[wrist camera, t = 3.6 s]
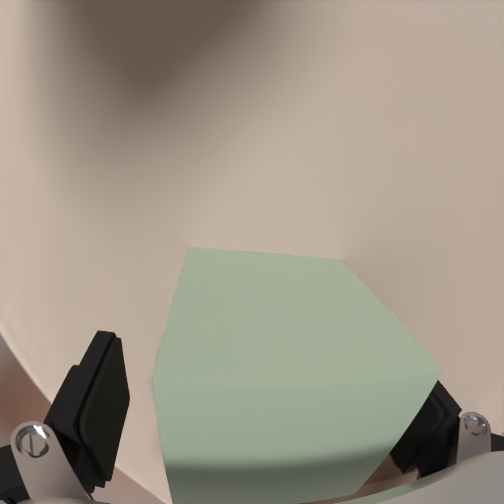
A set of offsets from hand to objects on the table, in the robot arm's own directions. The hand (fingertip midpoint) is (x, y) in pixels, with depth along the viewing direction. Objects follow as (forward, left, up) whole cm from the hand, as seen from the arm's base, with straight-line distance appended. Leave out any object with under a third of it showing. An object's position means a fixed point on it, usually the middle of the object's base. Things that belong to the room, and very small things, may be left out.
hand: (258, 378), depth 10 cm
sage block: (0, 0, -3) cm, 3 cm away
